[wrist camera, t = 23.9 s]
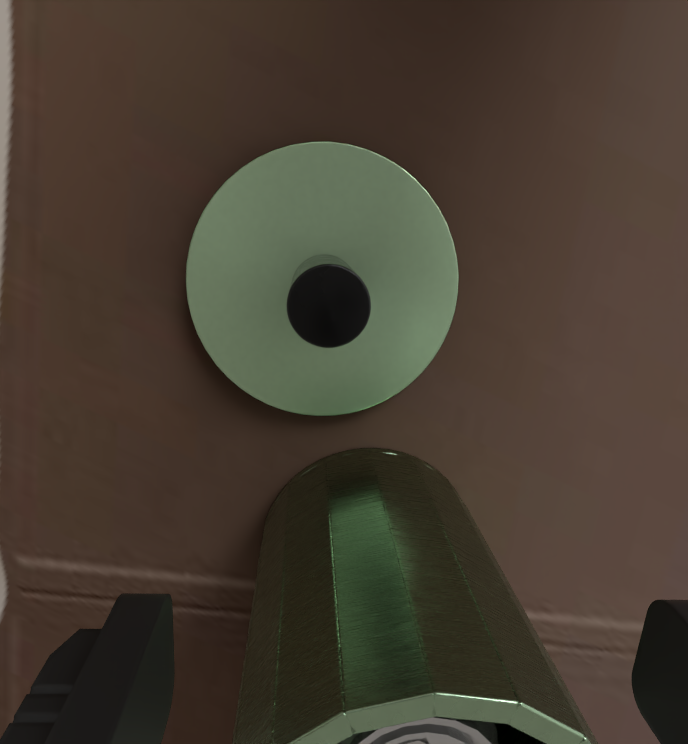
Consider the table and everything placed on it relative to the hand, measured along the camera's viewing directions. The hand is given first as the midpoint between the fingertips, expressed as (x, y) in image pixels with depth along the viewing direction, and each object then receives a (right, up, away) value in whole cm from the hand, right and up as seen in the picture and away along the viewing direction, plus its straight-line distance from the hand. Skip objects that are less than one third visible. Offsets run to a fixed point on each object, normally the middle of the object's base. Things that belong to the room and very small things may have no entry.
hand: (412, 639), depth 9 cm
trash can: (0, -4, +19) cm, 19 cm away
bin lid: (-2, +8, +15) cm, 17 cm away
